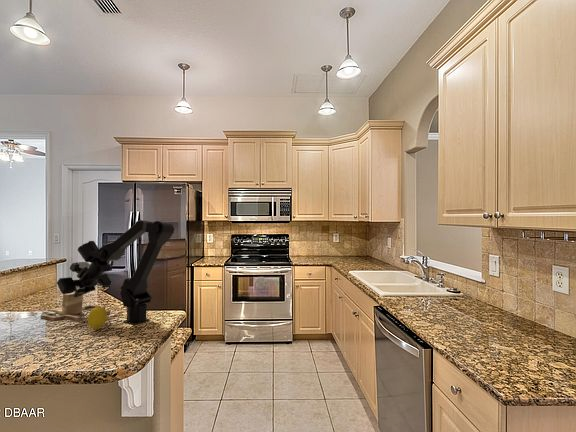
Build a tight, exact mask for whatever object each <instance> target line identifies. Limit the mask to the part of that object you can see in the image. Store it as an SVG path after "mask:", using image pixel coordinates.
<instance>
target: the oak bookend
mask: <svg viewBox="0 0 576 432" xmlns="http://www.w3.org/2000/svg"><path fill="white" fill-rule="evenodd" d="M74 293H75V292H72V293H68V294H62V306H60V307H57V308H55V307H54V308H50V309H49V311H50V312H56V315H60V316H63V315H75V314H80V313H82V312H83V310H82V306H83V300H84V295H81V296H79V297H76V298H75V296H74Z"/></svg>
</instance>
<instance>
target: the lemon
mask: <svg viewBox="0 0 576 432" xmlns="http://www.w3.org/2000/svg"><path fill="white" fill-rule="evenodd" d="M96 306H97V307H95V308H93V309H92V310H91V311H90V310H89V312H88V315H87V324H88V326H89V327H90V328H92V329H94V330H95V331H98V330H99V329H100V328H102V327H103V326H104V325H105V324H106V322H107V319H108V314H107V312H106V310H107V309H106V308H105V309H104V308H103V307H104V306H103V307H100V306H101V305H96Z"/></svg>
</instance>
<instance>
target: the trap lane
mask: <svg viewBox="0 0 576 432" xmlns="http://www.w3.org/2000/svg"><path fill="white" fill-rule="evenodd" d="M97 306H98V305H94V304H91V305H84V306H83V305H82V311H89V312H90V311H91V310H92V309H93V308H95V307H97ZM99 306H100V307H103V308H104V309H105V310H106V312H107V315H110V314H111V310H107V309H106V306H101V305H99ZM41 318H43V319H42V320H45V321H46V320H47V321H51V322H52V321H53V322H56V321H61V320H62V321H63V320H70V321H74V322H81V321H83V317H82V316H76V315H73V314H71V315H59V316H57V314H56V312H50V310H42V312H41V315H40V319H41Z"/></svg>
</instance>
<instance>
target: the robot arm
mask: <svg viewBox="0 0 576 432" xmlns="http://www.w3.org/2000/svg"><path fill="white" fill-rule="evenodd" d="M174 232H175V227H174V225H173V223H171V222H170V221H163V220H162V221H161V220H156V221H150V220H146V219H145V220H144V219H143V220H142V219H139V220H137V221H136V222H135V223H134V224H133V225H132V226H131V227H130V228H129V229H127V230H126V231H125V232H124V233H123V234H121V235H120V236H119V237H118V238H117V239H116V240H114V241H112V242H108V243H106V244H104V245H102V246H101V247H98V245H97V244H96V242H95V240H89V241H88V242H85V243H84V244H81V245H79V247H77V251H78V253H79V254H80V256H81V257H82V258H83V260H84V261H79V262H77V261H76V262H72V263H71V264H70V267H69V270H70V271H71V272H73V273H74V272H75V273H76V274H77V275H76V277H77V279H73V278H72V277H71V276H68V277H67V276H66V277H60V278H59V279H58V280H57V281H56V284H57V286H58V288H59V290H60V292H61V294H62V295H63V294H68V293H74V296H75V298H76V297H79V296H81V295H83V296H84V295H85V294H89V293H90V292H93V291H96V287H95V286H98V285H101V288H102V289H108V288H110V287H111V285H112V280H111V279H110V277H109V275H108V274H107V273H106V272H111V271H113V267H112V264H111V263H109V262H115V261H116V262H117V261H119V260H120V259H121V258H122V256H124V254H125V252H126V249H127V248H129V246H131V245H132V244H133V243H135V241H137V240H138V239H139V238H140V237H141V236H143V235H144V234H145V233H147V237H148V242H147V244H146V247H145V250H144V252H143V253H142V256H141V258H140V260H139V263H138V265H137V267H136V269H135V271H134V273H133V275H132V276H131V277H129V278H125V279H124V280H123V284H122V286H121V287H120V288H119V289H120V293H119V295H120V297H121V301H122V305H123V307H124V308H126V319H124V320H123V322H122V323H127V324H131V325H132V324H133V325H137V323H138V324H140V323H145V322H147V321H150V318H147V310H148V309H147V306H148V304H149V303H151V302H152V298H153V297H152V296H151V295H150V293H149V292H148V278H149V276H150V273H151V271H152V269H153V267H154V265H155V262H156V260H157V258H158V255H159V254H160V252H161V249H162V247H163V246H164V245H165V244H166V243H168V241H169V240H170V239H171V238H172V236H173V234H174Z"/></svg>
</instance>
